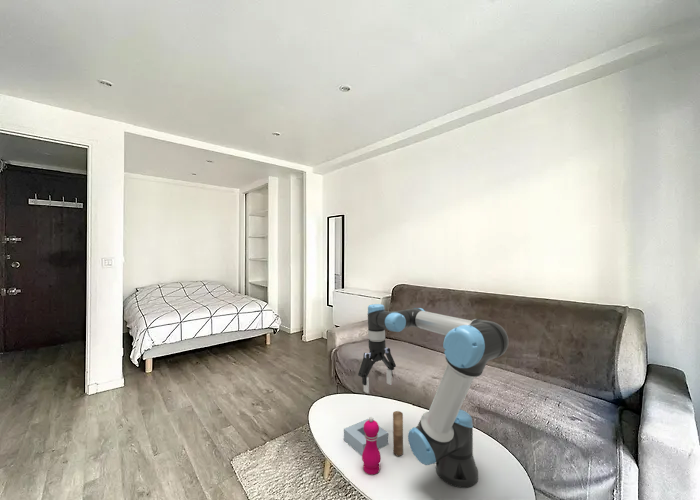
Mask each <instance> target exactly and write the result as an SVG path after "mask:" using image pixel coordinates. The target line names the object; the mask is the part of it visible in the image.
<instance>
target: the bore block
mask: <svg viewBox="0 0 700 500" xmlns="http://www.w3.org/2000/svg"><path fill="white" fill-rule="evenodd" d="M368 420H369V418H366V419H364V420H361V421H359V422H356V423H355V424H352V425H349V426H348V427H344V428H343V441H344V442H345V443H346V444H348V445H349V446H350V447H351V448H352V449H354V450H355V452H356V453H358V454H359V455H360V456H362V454H363V451H364V448H365V446H366V439H365V432H364V424H365V422H366V421H368ZM377 434H378V439H377V448H378V450H379V449H382V448H384V447H386V446H389V432H388V431H386V430H385V429H384V428H383V427H381V426H379V431H378V433H377Z"/></svg>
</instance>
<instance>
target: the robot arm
mask: <svg viewBox="0 0 700 500" xmlns="http://www.w3.org/2000/svg"><path fill="white" fill-rule="evenodd" d="M367 327H368V330H367V333H368V337H367V338H368V349H369V352H363V358H362V361H361V364H360V367H359V371H358V373H357V375H358V376H359V377H360V378H362V379H361V381H362V382H361V383H362V385H363V392H364V393H366V394H369V393H370V384H369V383H370V382H369V380H370V379H369V377H368V375H369V374H370V372H371V370H372V368H373V366H374V365H375V364H376V363H377V362H379V361H381V362H383V364H384V365H385V367H386V369H385V370H386V371H385V372H386V373H385V374H386V375H385V376H386V384H388V385H390V386H391V385H393V371H394V370H395V368H396V367H397V366H396V363H395V361H394V358H393V355H392V352H391V348H389V347H387V345H386V340H385V339H386V330H387V331H390V332H395V333H396V332H397V333H399V332H402V331H403V330H404V329H407V328H412V327H413V328H418V329H421V330H425V331H428V332H431V333H432V332H433V333H435V334H439V335H443V336H445V337H444V340H443V344H442V345H443V347H442V348H443V349H444V351H443V353H444V357H445V362H446V363H447V365H446V367H445V369H444V373H443V374H442V377H441V380H440V381H439V384H438V387H437V390H436V393H435V395H434V397H433V400H432V402H431V405H430V406H429V410H428V411H426V412H425V413H423V414H422V415H421V418H420V419H419V422H418V423H417V424H418V425H417V426H415V427H412V428H411V429H410V430H409V431H408V433H407V440H408V444H409V447H410V450H411V452H412V454H413V456H414V457H415V458H416V459H417V461H418V462H419V463H421V464H422V465H425V466H430V465H432V464H434V465H435V472H436V474H437V476H438V477H439V478H440V479H441V480H442V481H443V482H445V483H446V484H448V485H450V486H452V487H457V488H469V487H473V486H475V484H477V482H478V480H479V471H478V467H477V464H476V461H475V458H474V452H473V451H474V450H473V449H474V448H473V445H474V443H473V440H474V439H473V435H474V433H473V431H474V430H473V429H474V425H473V418H472V416H471V415H470V414H469V413H468V412H467V411H465V410H464V409H461V408H462V407H463V406H462V405H463V404H464V401H465V399H466V396H467V394H468V392H469V389H470V387H471V386H472V384H473V380H474V379H475V378H479V377H481V376H482V374H483V372H484V370H485V368H486V366H487V363H488V362H489V361H491V360H494V359H497V358H500V357H502V356H503V355H504V354H505V353H506V352H507V350H508V348H509V341H510V340H509V336H508V334H507V333H508V332H507V331H506V330H505V328H504V327H502V325H500V324H499V323H497V322H494V321H493V320H492V321H491V320H485V319H480V318H474V319H471V320H470V319H465V318H460V317H455V316H451V315H450V316H449V315H446V314H441V313H436V312H430V311H427V310H424V308H422V307H414V308H408V309H402V310H396V311H395V310H394V311H388V310H386V309H385V305H384V304H381V303H374V304H373V303H372V304H370V305H368V306H367ZM385 355H386V356H385Z"/></svg>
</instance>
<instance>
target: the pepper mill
mask: <svg viewBox="0 0 700 500" xmlns="http://www.w3.org/2000/svg"><path fill="white" fill-rule="evenodd" d="M368 419H369V420H368V421H366V422H365V424H364V432H365V439H366V446H365V448H364V451H363V454H362V455H361V459H362V462H363V468H362V469H363V471H364V473H366V474H367V475H371V476H372V475H373V476H374V475H377V474H378V473H379V472H380V467H381V465H380V463H381V460H382V457H381V452H380V450H379V449H378V448H377V439H378V434H377V433H378V431H379V427H380V426H379V424H378V422H377V421H376V420H374V417H372V416H370V417H369V418H368Z"/></svg>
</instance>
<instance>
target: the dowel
mask: <svg viewBox="0 0 700 500" xmlns="http://www.w3.org/2000/svg"><path fill="white" fill-rule="evenodd" d="M403 423H404V415H403V412H402V411H399V410H397V411H393V412H392V433H393V434H392V441H393V442H392V446H393V448H392V450H393V452H392V453H393V454H394V455H395V456H397V457H400V456H402V455H403V454H404V424H403Z"/></svg>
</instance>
